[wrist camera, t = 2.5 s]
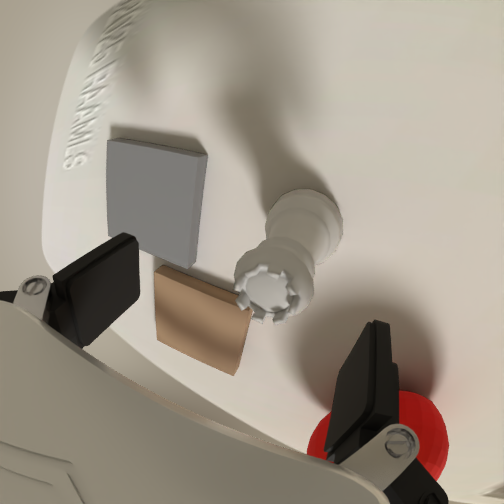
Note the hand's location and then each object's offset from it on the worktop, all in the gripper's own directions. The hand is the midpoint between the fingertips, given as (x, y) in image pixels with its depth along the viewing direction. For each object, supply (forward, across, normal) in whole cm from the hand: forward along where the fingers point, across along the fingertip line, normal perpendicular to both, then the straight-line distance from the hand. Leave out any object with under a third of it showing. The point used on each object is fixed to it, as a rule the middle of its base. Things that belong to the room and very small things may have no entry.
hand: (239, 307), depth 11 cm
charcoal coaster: (+9, +10, +1) cm, 13 cm away
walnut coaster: (+9, +5, +10) cm, 14 cm away
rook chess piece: (+9, -1, -1) cm, 9 cm away
